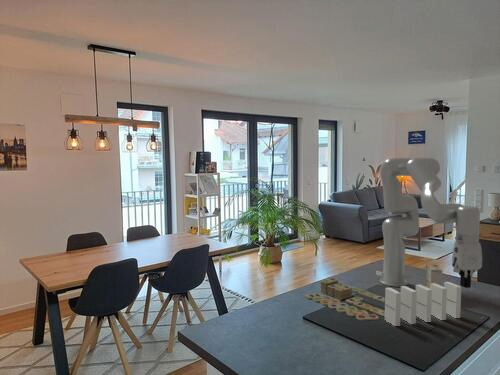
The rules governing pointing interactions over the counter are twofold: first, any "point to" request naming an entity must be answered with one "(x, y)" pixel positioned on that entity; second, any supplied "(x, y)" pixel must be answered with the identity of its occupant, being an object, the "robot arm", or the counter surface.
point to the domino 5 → (453, 299)
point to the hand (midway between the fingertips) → (465, 286)
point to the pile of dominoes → (342, 292)
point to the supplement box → (433, 275)
